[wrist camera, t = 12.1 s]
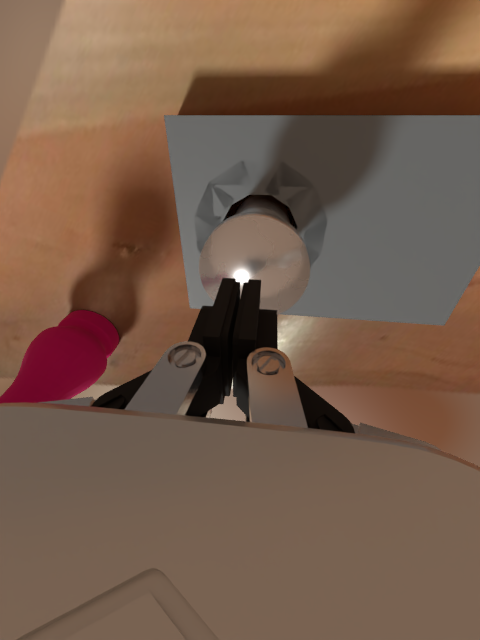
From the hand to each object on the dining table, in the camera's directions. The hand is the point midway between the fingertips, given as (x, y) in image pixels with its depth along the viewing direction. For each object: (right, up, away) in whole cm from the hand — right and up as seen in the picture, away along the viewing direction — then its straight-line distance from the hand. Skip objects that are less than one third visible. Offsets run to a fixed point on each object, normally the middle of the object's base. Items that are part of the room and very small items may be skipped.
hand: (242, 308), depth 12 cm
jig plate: (+6, +7, +9) cm, 13 cm away
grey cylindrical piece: (+2, +7, +10) cm, 12 cm away
